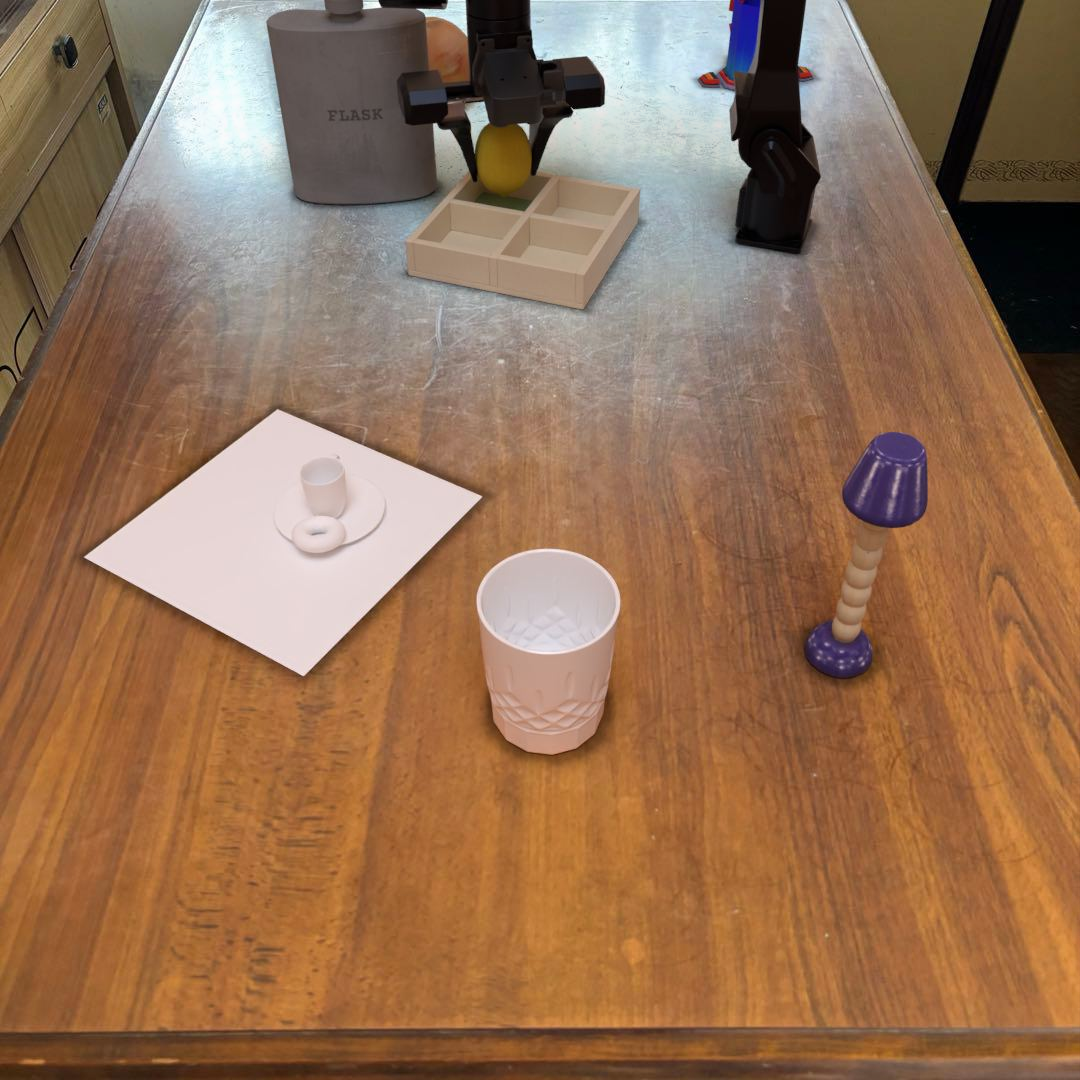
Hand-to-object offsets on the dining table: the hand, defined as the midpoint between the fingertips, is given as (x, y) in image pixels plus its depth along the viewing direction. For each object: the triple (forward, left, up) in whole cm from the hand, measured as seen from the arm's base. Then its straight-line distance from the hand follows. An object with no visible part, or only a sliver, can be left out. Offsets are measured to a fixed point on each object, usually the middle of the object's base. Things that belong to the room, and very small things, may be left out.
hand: (503, 177), depth 108 cm
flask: (+16, -1, -5) cm, 17 cm away
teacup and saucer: (-2, +47, -5) cm, 47 cm away
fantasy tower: (-16, -45, -5) cm, 48 cm away
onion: (+18, -24, -5) cm, 30 cm away
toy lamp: (-41, +45, -5) cm, 61 cm away
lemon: (0, 0, -2) cm, 2 cm away
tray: (-4, +4, -5) cm, 7 cm away
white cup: (-25, +56, -5) cm, 62 cm away
